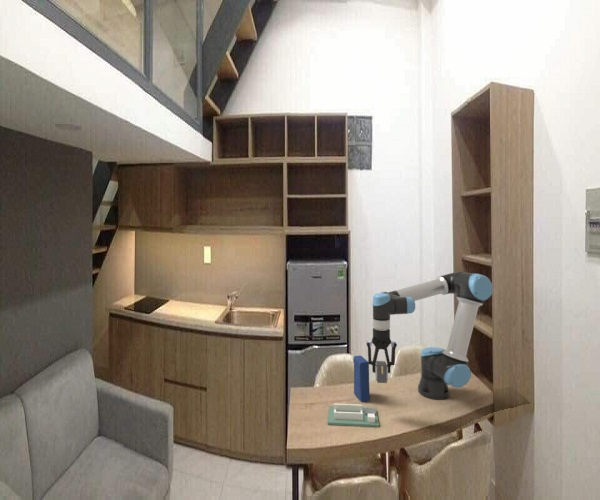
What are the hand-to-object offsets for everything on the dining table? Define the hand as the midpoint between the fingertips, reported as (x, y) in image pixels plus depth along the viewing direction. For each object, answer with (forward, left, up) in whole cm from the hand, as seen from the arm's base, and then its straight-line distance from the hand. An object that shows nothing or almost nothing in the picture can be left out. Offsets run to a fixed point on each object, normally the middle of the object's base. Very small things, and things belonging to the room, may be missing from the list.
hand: (381, 379), depth 150 cm
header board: (+13, +1, -17) cm, 22 cm away
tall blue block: (+8, -18, -18) cm, 26 cm away
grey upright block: (0, 0, 0) cm, 0 cm away
